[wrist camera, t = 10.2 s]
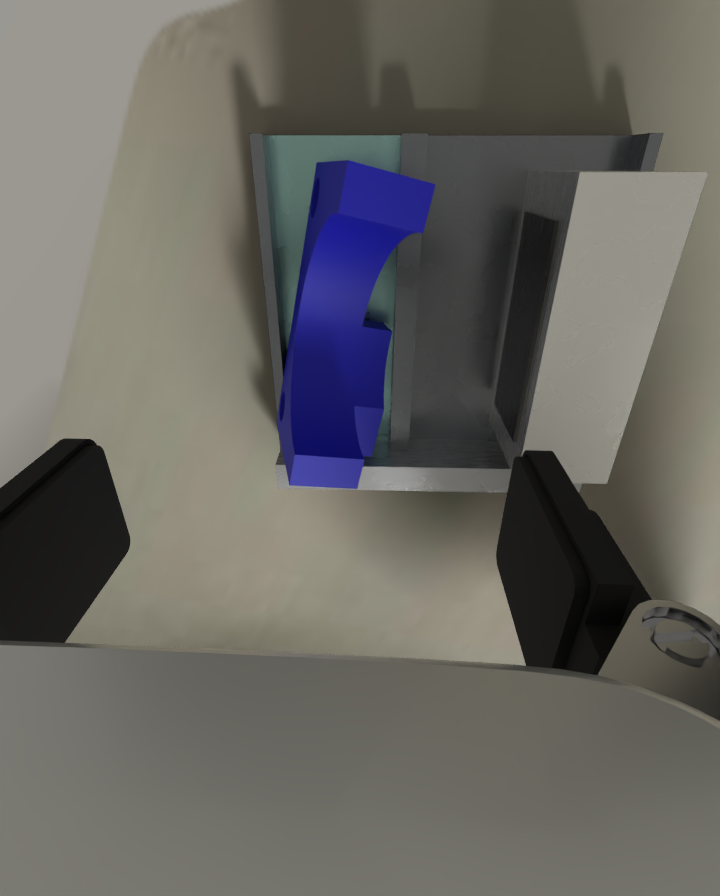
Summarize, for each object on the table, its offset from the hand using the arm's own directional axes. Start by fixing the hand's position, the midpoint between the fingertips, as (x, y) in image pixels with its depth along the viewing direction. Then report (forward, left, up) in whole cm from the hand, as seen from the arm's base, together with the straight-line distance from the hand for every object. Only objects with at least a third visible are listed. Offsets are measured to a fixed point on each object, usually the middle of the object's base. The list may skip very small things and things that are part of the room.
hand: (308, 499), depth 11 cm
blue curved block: (0, 0, -14) cm, 14 cm away
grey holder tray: (-4, 0, -16) cm, 17 cm away
